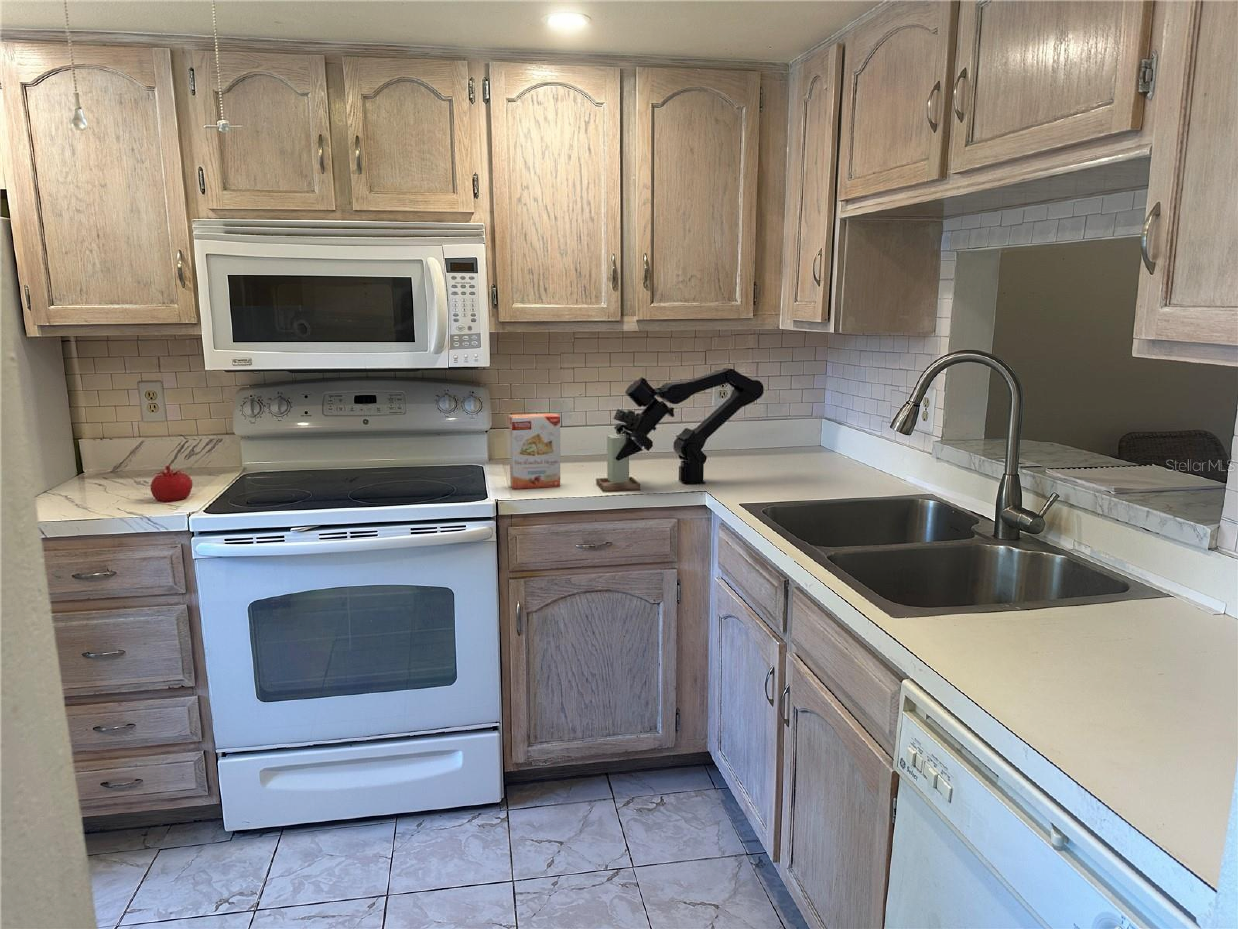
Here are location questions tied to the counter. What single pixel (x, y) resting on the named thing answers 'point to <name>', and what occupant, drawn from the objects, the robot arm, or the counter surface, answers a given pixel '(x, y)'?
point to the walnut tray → (617, 485)
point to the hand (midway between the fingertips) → (613, 458)
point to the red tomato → (171, 486)
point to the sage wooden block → (616, 469)
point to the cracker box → (534, 450)
